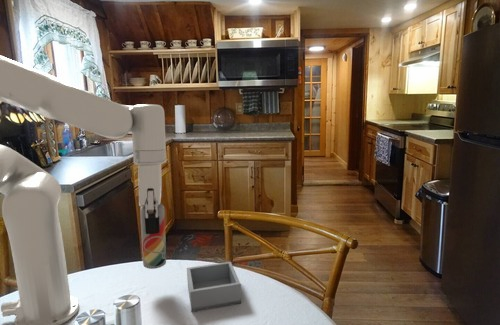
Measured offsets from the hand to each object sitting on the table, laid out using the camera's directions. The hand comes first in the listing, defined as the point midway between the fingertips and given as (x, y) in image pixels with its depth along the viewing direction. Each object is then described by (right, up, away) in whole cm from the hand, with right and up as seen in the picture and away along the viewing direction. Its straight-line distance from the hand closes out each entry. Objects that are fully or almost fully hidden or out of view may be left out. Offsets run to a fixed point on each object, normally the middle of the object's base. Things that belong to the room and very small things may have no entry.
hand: (153, 227), depth 83 cm
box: (+15, -16, 0) cm, 22 cm away
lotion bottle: (0, -10, +2) cm, 10 cm away
